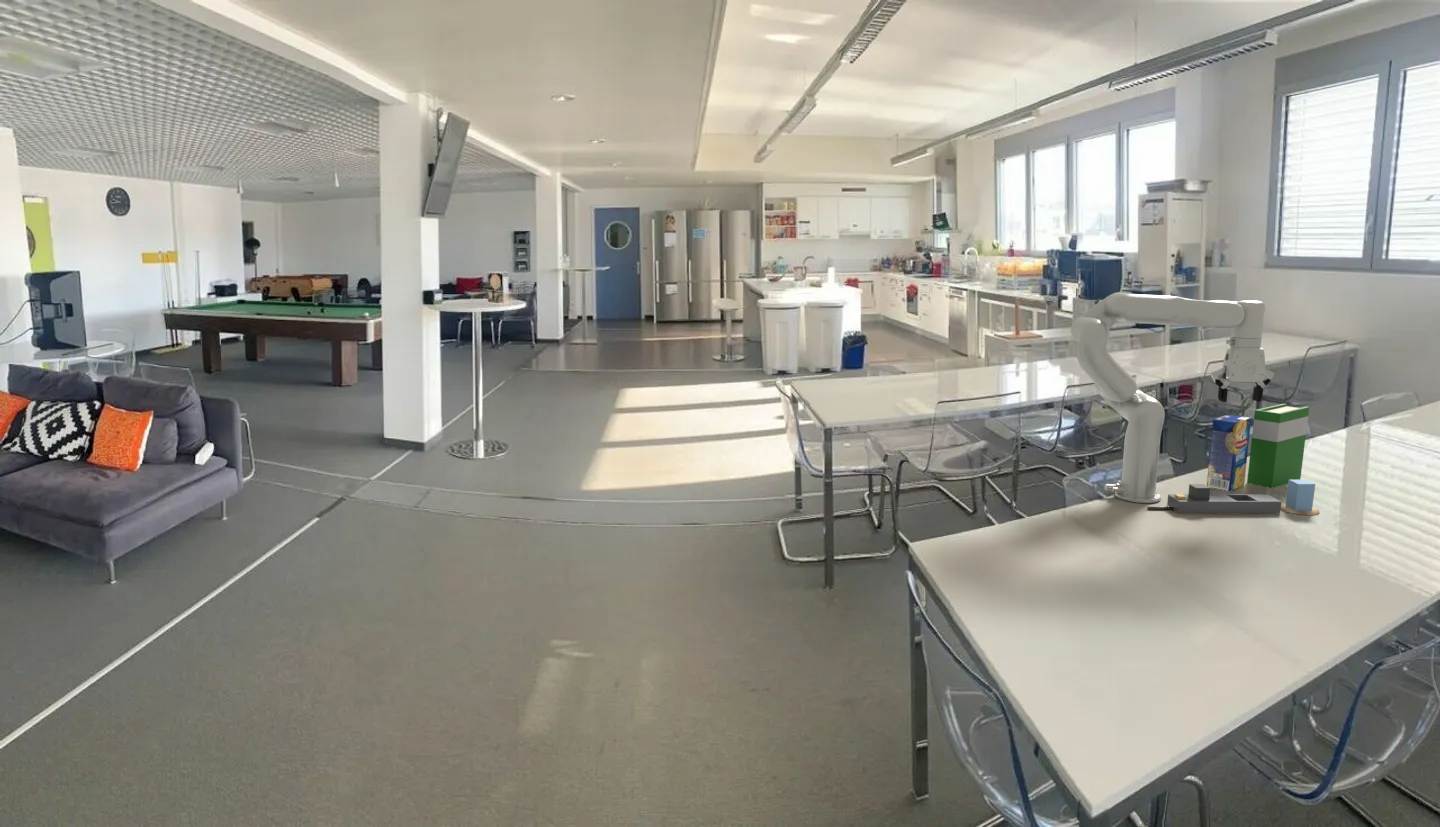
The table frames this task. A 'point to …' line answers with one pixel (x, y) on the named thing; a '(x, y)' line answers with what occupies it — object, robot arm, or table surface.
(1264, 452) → the hardback book
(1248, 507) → the power strip
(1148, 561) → the table surface
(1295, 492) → the block
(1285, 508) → the coaster
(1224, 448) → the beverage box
